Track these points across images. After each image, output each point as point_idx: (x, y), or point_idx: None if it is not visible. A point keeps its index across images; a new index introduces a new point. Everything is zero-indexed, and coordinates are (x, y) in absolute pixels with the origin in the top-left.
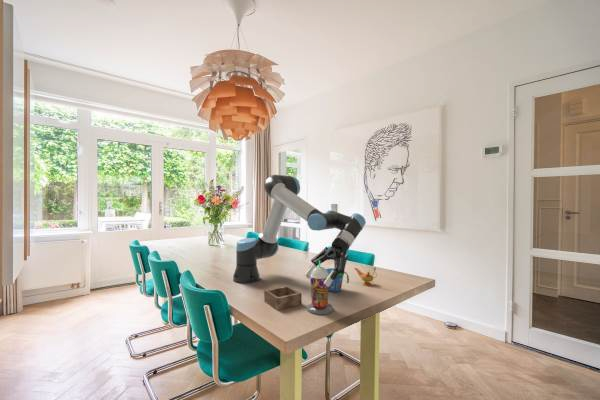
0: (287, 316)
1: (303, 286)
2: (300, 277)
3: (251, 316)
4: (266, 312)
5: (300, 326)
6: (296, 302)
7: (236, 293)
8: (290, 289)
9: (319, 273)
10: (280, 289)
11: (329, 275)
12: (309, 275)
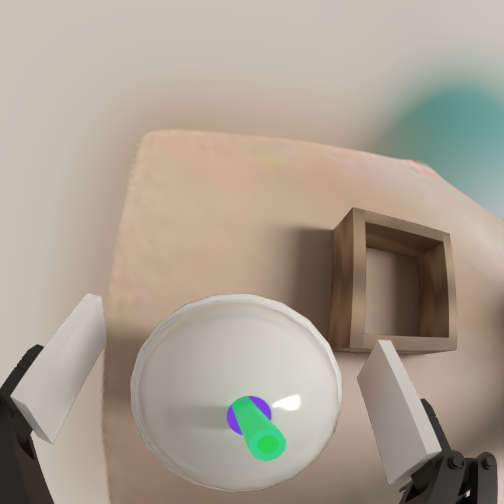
0: (263, 221)
1: None
2: None
3: (334, 149)
4: (338, 193)
5: (167, 202)
6: (334, 319)
7: (490, 228)
8: (421, 337)
9: (173, 332)
10: (444, 305)
11: (52, 346)
12: (369, 383)
